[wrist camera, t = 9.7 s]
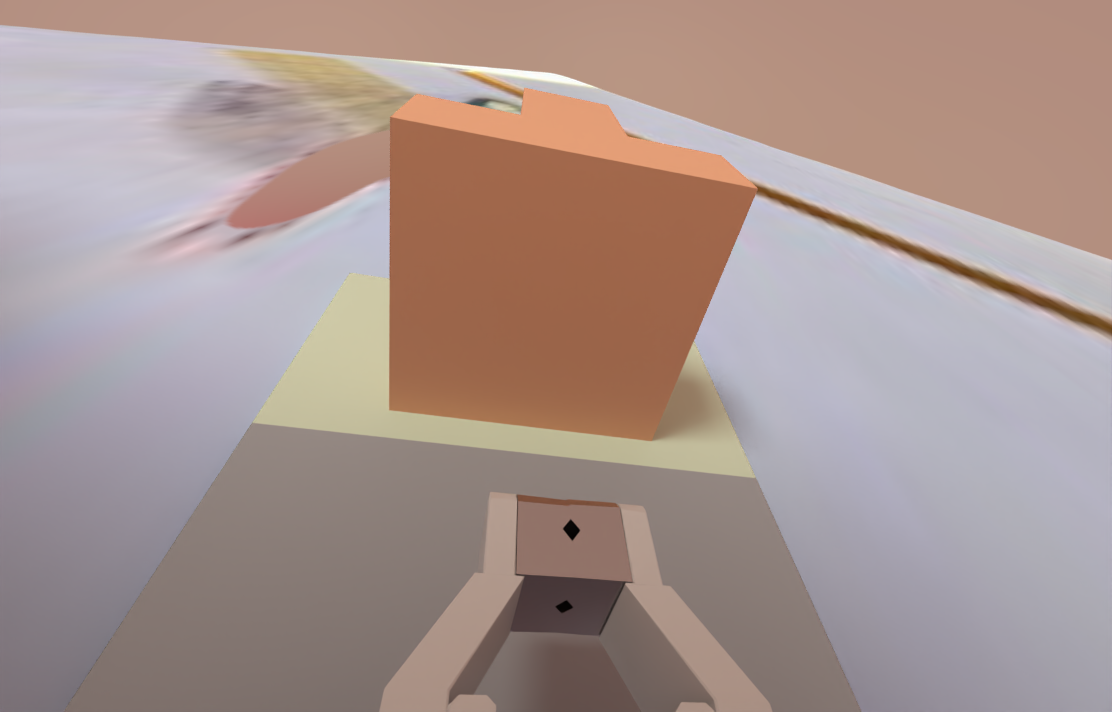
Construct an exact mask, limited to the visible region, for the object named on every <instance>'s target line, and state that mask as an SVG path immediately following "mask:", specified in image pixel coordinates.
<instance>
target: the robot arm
mask: <svg viewBox="0 0 1112 712" xmlns="http://www.w3.org/2000/svg"><path fill="white" fill-rule="evenodd" d="M510 632H550V633H565V634H577V635H590V636H600V637H599V640H600V642H601V643H602V645H603V647H604V649H605V650H606V652H607V654H608V655H609V657H610V659H611V660H612V662H613V664H614V666H615V667H616V669H617V671H618V672H619V674H620V676H621V678H622V679H623V681H624V683H625V684H626V686H627V688H628V690H629V691H630V693H631V695H632V696H633V698H634V700H635V702H636V703H637V705H638V707H639V708H640V710H641V712H772V709H771V706H770V703H769V702H768V701H767V699H766V698H765V697H764V696H763V695H762V694H761V692H760V691H759V690H758V689H757V688H756V686H755V685H754V684H753V683H752V682H751V681H750V679H749V678H748V677H747V676H746V675H745V673H744V672H743V671H742V670H741V669H740V668H739V666H738V665H737V664H736V663H735V662H734V660H733V659H732V658H731V657H730V656H729V655H728V653H727V652H726V651H725V650H724V649H723V647H722V646H721V645H720V644H719V643H718V642H717V640H716V639H715V638H714V637H713V636H712V634H711V633H710V632H709V631H708V630H707V629H706V627H705V626H704V625H703V624H702V623H701V621H700V620H699V619H698V618H697V617H696V616H695V614H694V613H693V612H692V611H691V610H690V608H689V607H688V606H687V605H686V604H685V603H684V601H683V600H682V599H681V598H680V597H679V595H678V594H677V593H676V592H675V591H674V590H673V588H672V587H671V586H666V585H663V584H662V579H661V575H660V570H659V566H658V562H657V557H656V553H655V548H654V544H653V540H652V535H651V531H650V526H649V522H648V518H647V513H646V510H645V509H644V507H643V506H639V505H628V504H616V503H611V502H598V501H585V500H572V499H567V500H561V499H553V498H544V497H536V496H527V495H519V494H517V495H516V494H509V493H499V492H490V493H489V497H488V503H487V508H486V514H485V520H484V525H483V532H482V539H481V546H480V553H479V564H478V573H474V574H473V576H472V577H471V578H470V579H469V581H468V582H467V583H466V585H465V586H464V587H463V588H462V590H461V591H460V592H459V594H458V595H457V596H456V597H455V599H454V600H453V601H452V602H451V604H450V605H449V606H448V608H447V609H446V610H445V611H444V613H443V614H442V615H441V617H440V618H439V619H438V620H437V622H436V623H435V624H434V625H433V627H432V628H431V629H430V631H429V632H428V633H427V634H426V636H425V637H424V638H423V640H422V641H421V642H420V643H419V645H418V646H417V647H416V648H415V650H414V651H413V652H412V654H411V655H410V656H409V657H408V659H407V660H406V661H405V663H404V664H403V665H402V666H401V668H400V669H399V670H398V671H397V673H396V674H395V675H394V677H393V678H392V679H391V680H390V682H389V683H388V684H387V686H386V687H385V688H384V692H383V697H382V701H381V706H380V710H379V712H496V705H495V704H494V702H493V701H492V700H491V699H490V698H489V697H488V696H487V695H474V693H475V691H476V690H477V688H478V686H479V685H480V683H481V681H482V680H483V678H484V676H485V674H486V673H487V671H488V669H489V668H490V666H491V664H492V663H493V661H494V659H495V658H496V656H497V654H498V653H499V651H500V649H501V648H502V646H503V644H504V643H505V641H506V639H507V638H508V636H509V633H510Z"/></svg>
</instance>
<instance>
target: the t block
mask: <svg viewBox="0 0 1112 712" xmlns="http://www.w3.org/2000/svg"><path fill="white" fill-rule="evenodd" d="M757 189H758V188H757V187H756V186H754V185H753V184H752V183H751V182H750V181H749V180H748V179H747V178H746V177H744V176H743V175H742V174H741V173H740V172H739V171H738V170H737V169H735V168H734V167H733V166H732V165H731V164H730V163H729V162H728V161H727V160H725V159H724V158H723V157H722V156H721V155H716V154H711V153H706V152H701V151H697V150H692V149H687V148H682V147H677V146H672V145H667V144H662V143H657V142H652V141H647V140H642V139H637V138H632V137H628V136H627V135H626V133H625V132H624V130H623V128H622V127H621V125H620V124H619V122H618V120H617V119H616V117H615V116H614V114H613V112H612V111H611V109H610V108H609V106H608V105H604V104H599V103H594V102H590V101H585V100H580V99H575V98H571V97H566V96H561V95H556V94H551V93H547V92H542V91H537V90H532V89H528V88H524V95H523V102H522V109H521V115H519V114H514V113H509V112H504V111H499V110H494V109H489V108H484V107H479V106H474V105H469V104H464V103H459V102H454V101H449V100H444V99H439V98H434V97H430V96H425V95H420V94H416V95H415V96H414V97H413V98H411V99H410V100H409V101H408V102H407V103H406V104H405V105H403V106H402V107H401V108H400V109H399V110H398V111H397V112H395V113H394V114H393V115H392V116H391V117H390V300H389V410H392V411H400V412H408V413H417V414H425V415H434V416H442V417H451V418H459V419H468V420H476V421H485V422H493V423H501V424H510V425H518V426H527V427H535V428H544V429H552V430H561V431H569V432H577V433H586V434H594V435H603V436H611V437H620V438H628V439H637V440H645V441H652V439H653V437H654V434H655V432H656V430H657V427H658V425H659V422H660V420H661V418H662V415H663V413H664V411H665V408H666V406H667V403H668V401H669V399H670V396H671V394H672V392H673V389H674V387H675V384H676V382H677V380H678V377H679V375H680V373H681V370H682V368H683V365H684V363H685V361H686V358H687V356H688V354H689V351H690V349H691V346H692V344H693V342H694V339H695V337H696V335H697V332H698V330H699V327H700V325H701V323H702V320H703V318H704V315H705V313H706V311H707V308H708V306H709V304H710V301H711V299H712V296H713V294H714V292H715V289H716V287H717V285H718V282H719V280H720V277H721V275H722V273H723V270H724V268H725V266H726V263H727V261H728V258H729V256H730V254H731V251H732V249H733V247H734V244H735V242H736V239H737V237H738V235H739V232H740V230H741V228H742V225H743V223H744V220H745V218H746V216H747V213H748V211H749V209H750V206H751V204H752V201H753V199H754V197H755V194H756V192H757Z"/></svg>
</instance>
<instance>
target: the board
mask: <svg viewBox="0 0 1112 712" xmlns="http://www.w3.org/2000/svg"><path fill="white" fill-rule="evenodd" d="M389 300H390V279H388V278H381V277H374V276H368V275H361V274H355V273H350V274H349V275H348V277H347V278H346V280H345V281H344V283H343V284H342V286H341V287H340V289H339V290H338V292H337V294H336V295H335V297H334V298H333V300H332V301H331V303H330V304H329V306H328V307H327V309H326V310H325V312H324V313H323V315H322V317H321V318H320V320H319V321H318V323H317V324H316V326H315V327H314V329H313V330H312V332H311V333H310V335H309V336H308V338H307V339H306V341H305V343H304V344H303V346H302V347H301V349H300V350H299V352H298V353H297V355H296V356H295V358H294V359H293V361H292V362H291V364H290V366H289V367H288V369H287V370H286V372H285V373H284V375H283V376H282V378H281V379H280V381H279V382H278V384H277V385H276V387H275V389H274V390H273V392H272V393H271V395H270V396H269V398H268V399H267V401H266V402H265V404H264V405H263V407H262V408H261V410H260V411H259V413H258V415H257V416H256V418H255V419H254V421H253V422H252V424H251V425H250V427H249V428H248V430H247V431H246V433H245V434H244V436H243V438H242V439H241V441H240V442H239V444H238V445H237V447H236V448H235V450H234V451H233V453H232V454H231V456H230V457H229V459H228V461H227V462H226V464H225V465H224V467H223V468H222V470H221V471H220V473H219V474H218V476H217V477H216V479H215V480H214V482H213V483H212V485H211V487H210V488H209V490H208V491H207V493H206V494H205V496H204V497H203V499H202V500H201V502H200V503H199V505H198V506H197V508H196V510H195V511H194V513H193V514H192V516H191V517H190V519H189V520H188V522H187V523H186V525H185V526H184V528H183V529H182V531H181V533H180V534H179V536H178V537H177V539H176V540H175V542H174V543H173V545H172V546H171V548H170V549H169V551H168V552H167V554H166V555H165V557H164V559H163V560H162V562H161V563H160V565H159V566H158V568H157V569H156V571H155V572H154V574H153V575H152V577H151V578H150V580H149V582H148V583H147V585H146V586H145V588H144V589H143V591H142V592H141V594H140V595H139V597H138V598H137V600H136V601H135V603H134V605H133V606H132V608H131V609H130V611H129V612H128V614H127V615H126V617H125V618H124V620H123V621H122V623H121V624H120V626H119V627H118V629H117V631H116V632H115V634H114V635H113V637H112V638H111V640H110V641H109V643H108V644H107V646H106V647H105V649H104V650H103V652H102V654H101V655H100V657H99V658H98V660H97V661H96V663H95V664H94V666H93V667H92V669H91V670H90V672H89V673H88V675H87V677H86V678H85V680H84V681H83V683H82V684H81V686H80V687H79V689H78V690H77V692H76V693H75V695H74V696H73V698H72V699H71V701H70V703H69V704H68V706H67V707H66V709H65V710H64V712H379V710H380V706H381V701H382V697H383V692H384V688H385V687H386V686H387V684H388V683H389V682H390V680H391V679H392V678H393V677H394V675H395V674H396V673H397V671H398V670H399V669H400V668H401V666H402V665H403V664H404V663H405V661H406V660H407V659H408V657H409V656H410V655H411V654H412V652H413V651H414V650H415V648H416V647H417V646H418V645H419V643H420V642H421V641H422V640H423V638H424V637H425V636H426V634H427V633H428V632H429V631H430V629H431V628H432V627H433V625H434V624H435V623H436V622H437V620H438V619H439V618H440V617H441V615H442V614H443V613H444V611H445V610H446V609H447V608H448V606H449V605H450V604H451V602H452V601H453V600H454V599H455V597H456V596H457V595H458V594H459V592H460V591H461V590H462V588H463V587H464V586H465V585H466V583H467V582H468V581H469V579H470V578H471V577H472V576H473V574H474V573H478V564H479V553H480V546H481V539H482V532H483V525H484V520H485V514H486V508H487V503H488V497H489V493H490V492H499V493H509V494H516V495H517V494H519V495H527V496H536V497H544V498H553V499H561V500H567V499H572V500H585V501H598V502H611V503H616V504H628V505H639V506H643V507H644V509H645V510H646V513H647V518H648V522H649V526H650V531H651V535H652V540H653V544H654V548H655V553H656V557H657V562H658V566H659V570H660V575H661V579H662V584H663V585H666V586H671V587H672V588H673V590H674V591H675V592H676V593H677V594H678V595H679V597H680V598H681V599H682V600H683V601H684V603H685V604H686V605H687V606H688V607H689V608H690V610H691V611H692V612H693V613H694V614H695V616H696V617H697V618H698V619H699V620H700V621H701V623H702V624H703V625H704V626H705V627H706V629H707V630H708V631H709V632H710V633H711V634H712V636H713V637H714V638H715V639H716V640H717V642H718V643H719V644H720V645H721V646H722V647H723V649H724V650H725V651H726V652H727V653H728V655H729V656H730V657H731V658H732V659H733V660H734V662H735V663H736V664H737V665H738V666H739V668H740V669H741V670H742V671H743V672H744V673H745V675H746V676H747V677H748V678H749V679H750V681H751V682H752V683H753V684H754V685H755V686H756V688H757V689H758V690H759V691H760V692H761V694H762V695H763V696H764V697H765V698H766V699H767V701H768V702H769V703H770V706H771V709H772V712H861V710H860V707H859V705H858V703H857V701H856V698H855V696H854V694H853V692H852V690H851V687H850V685H849V683H848V681H847V679H846V676H845V674H844V672H843V670H842V667H841V665H840V663H839V661H838V659H837V656H836V654H835V652H834V650H833V648H832V645H831V643H830V641H829V639H828V637H827V634H826V632H825V630H824V628H823V625H822V623H821V621H820V619H819V617H818V614H817V612H816V610H815V608H814V606H813V603H812V601H811V599H810V597H809V594H808V592H807V590H806V588H805V586H804V583H803V581H802V579H801V577H800V575H799V572H798V570H797V568H796V566H795V563H794V561H793V559H792V557H791V555H790V552H789V550H788V548H787V546H786V544H785V541H784V539H783V537H782V535H781V532H780V530H779V528H778V526H777V524H776V521H775V519H774V517H773V515H772V513H771V510H770V508H769V506H768V504H767V501H766V499H765V497H764V495H763V493H762V490H761V488H760V486H759V484H758V482H757V479H756V477H755V475H754V473H753V470H752V468H751V466H750V464H749V462H748V459H747V457H746V455H745V453H744V451H743V448H742V446H741V444H740V442H739V439H738V437H737V435H736V433H735V431H734V428H733V426H732V424H731V422H730V420H729V417H728V415H727V413H726V411H725V408H724V406H723V404H722V402H721V400H720V397H719V395H718V393H717V391H716V389H715V386H714V384H713V382H712V380H711V377H710V375H709V373H708V371H707V369H706V366H705V364H704V362H703V360H702V358H701V355H700V353H699V351H698V349H697V347H696V344H695V342H693V344H692V346H691V349H690V351H689V354H688V356H687V358H686V361H685V363H684V365H683V368H682V370H681V373H680V375H679V377H678V380H677V382H676V384H675V387H674V389H673V392H672V394H671V396H670V399H669V401H668V403H667V406H666V408H665V411H664V413H663V415H662V418H661V420H660V422H659V425H658V427H657V430H656V432H655V434H654V437H653V439H652V441H645V440H637V439H628V438H620V437H611V436H603V435H594V434H586V433H577V432H569V431H561V430H552V429H544V428H535V427H527V426H518V425H510V424H501V423H493V422H485V421H476V420H468V419H459V418H451V417H442V416H434V415H425V414H417V413H408V412H400V411H392V410H389ZM599 637H600V636H590V635H577V634H565V633H550V632H510V633H509V636H508V638H507V639H506V641H505V643H504V644H503V646H502V648H501V649H500V651H499V653H498V654H497V656H496V658H495V659H494V661H493V663H492V664H491V666H490V668H489V669H488V671H487V673H486V674H485V676H484V678H483V680H482V681H481V683H480V685H479V686H478V688H477V690H476V691H475V693H474V695H487V696H488V697H489V698H490V699H491V700H492V701H493V702H494V704H495V705H496V712H641V710H640V708H639V707H638V705H637V703H636V702H635V700H634V698H633V696H632V695H631V693H630V691H629V690H628V688H627V686H626V684H625V683H624V681H623V679H622V678H621V676H620V674H619V672H618V671H617V669H616V667H615V666H614V664H613V662H612V660H611V659H610V657H609V655H608V654H607V652H606V650H605V649H604V647H603V645H602V643H601V642H600V640H599Z"/></svg>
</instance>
